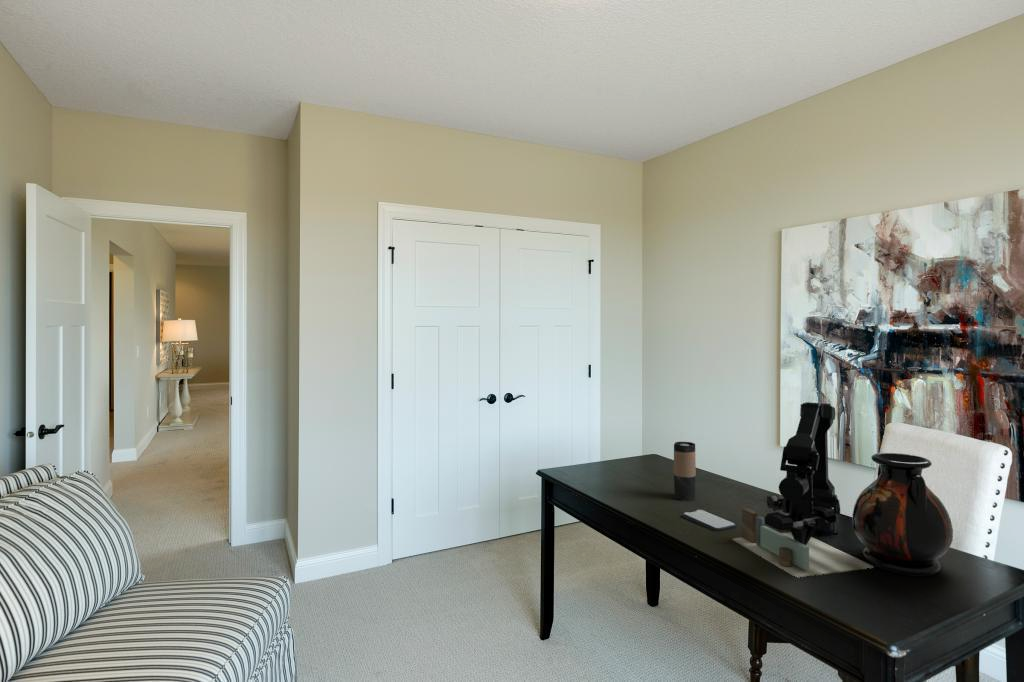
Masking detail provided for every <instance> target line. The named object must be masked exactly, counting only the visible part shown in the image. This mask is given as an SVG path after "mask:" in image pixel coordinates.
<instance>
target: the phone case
mask: <svg viewBox="0 0 1024 682" xmlns="http://www.w3.org/2000/svg"><path fill="white" fill-rule="evenodd" d="M681 517H682V518H683V517H685V518H684V519H686V518H687V519H686V520H688V519H689V520H688V521H690V520H691V522H693V521H694V522H693V523H695V522H696V523H695V524H697V523H698V524H697V525H700V524H701V525H700V526H702V527H704V526H705V528H707V529H709V530H711V531H714V532H725V531H728V530H733V529H736V528H737V524H736V523H734V522H732V521H730V520H727V519H726V518H722V517H720V516H718V515H715V514H713V513H710V512H709V511H706V510H703V509H694V510H690V511H685V512H682V516H681Z"/></svg>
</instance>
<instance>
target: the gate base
mask: <svg viewBox="0 0 1024 682" xmlns="http://www.w3.org/2000/svg"><path fill="white" fill-rule="evenodd" d="M741 510H742V513H741V515H742V516H741V518H742V520H741V521H742V522H741V523H742V525H741V528H742V529H741V532H742V535H741V536H742V537H736V538H732V541H733V542H735V543H737V544H738V545H740V546H742V547H743V548H745V549H747V550H749V551H751V552H752V553H754V554H756V555H757V556H758V557H760V556H761V558H762V559H764V560H765V561H767V562H769V563H771V564H772V565H774V566H776V567H777V568H779V569H780V570H782V569H783V570H782V571H784V572H786V573H788V574H789V575H790V576H792V577H794V576H795V578H796V577H797V578H796V579H801V578H808V577H807V576H809V577H815V575H816V576H822V575H823V574H824V575H830V574H839V573H846V572H853V570H854V571H860V569H861V570H868V569H867V568H869V569H874V568H875V567H874V566H875V565H874V566H873V564H871V563H870V564H869V563H868V562H865V561H863V560H861V559H859V558H857V557H856V556H852V554H851V555H850V554H849V553H847V552H844V551H842V550H840V549H838V548H835V547H834V546H831V545H830V544H827V543H825V542H824V541H821V540H819V539H818V538H815V537H813V536H812V537H811V538H810V540H809V542H808V543H807V545H806V546H808V547H809V569H802V568H801V567H799V566H797V565H795V564H793V563H792V567H783V566H780V565H779V556H778V555H776V554H774V553H773V552H771V551H769V550H767V549H765V548H763V547H761V546H759V545H757V544H756V517H758V513H757V512H755V511H754V510H752V509H749V508H747V507H745V508H744V507H743V508H742V509H741ZM780 533H781V534H783V535H785V536H788V537H790V538H792V539H794V538H793V535H792V533H791V531H790V532H780ZM824 575H823V576H824ZM800 577H801V578H800Z"/></svg>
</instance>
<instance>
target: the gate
mask: <svg viewBox="0 0 1024 682" xmlns="http://www.w3.org/2000/svg"><path fill="white" fill-rule="evenodd" d="M781 533H782V532H779V531H777V530H775V529H774V528H772V527H770V526H768V525H765V516H764V517H763V516H757V517H756V544H757V545H759V546H761V547H763V548H765V549H767V550H769V551H771V552H773V553H774V554H776V555H778V556H779V548H780V547H787V548H790V549H791V550H792V563H793V564H795V565H797V566H799V567H801V568H802V569H809V547H808V546H806V545H804V544H802V543H800V542H798V541H796V540H794V539H792V538H790V537H788V536H785V535H783V534H781Z"/></svg>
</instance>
